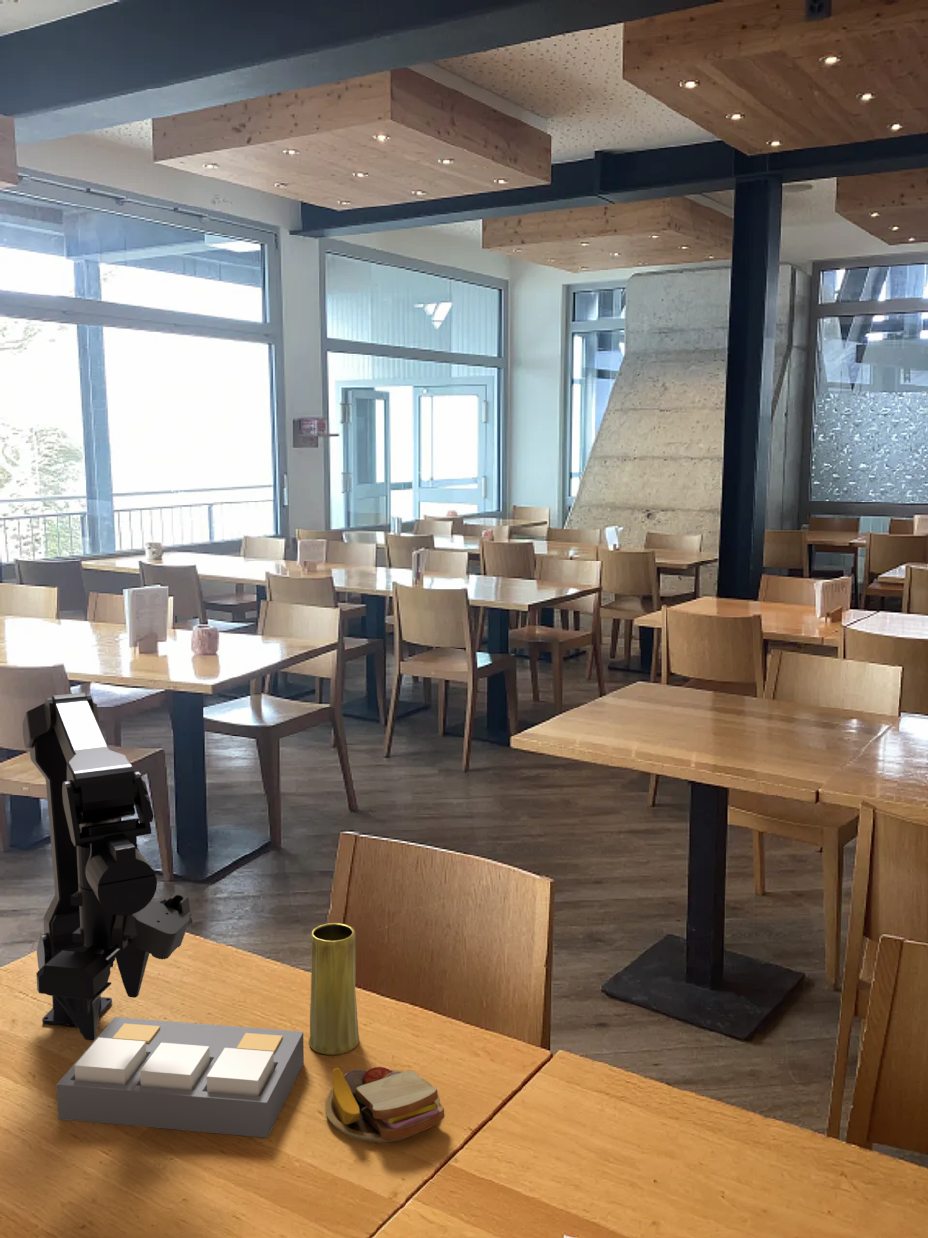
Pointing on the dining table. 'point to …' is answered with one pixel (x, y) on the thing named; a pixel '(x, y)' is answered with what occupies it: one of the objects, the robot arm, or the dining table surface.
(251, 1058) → the key
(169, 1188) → the dining table surface
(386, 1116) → the toy sandwich meal
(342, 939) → the vase
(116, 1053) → the key
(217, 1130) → the key panel
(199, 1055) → the key middle
